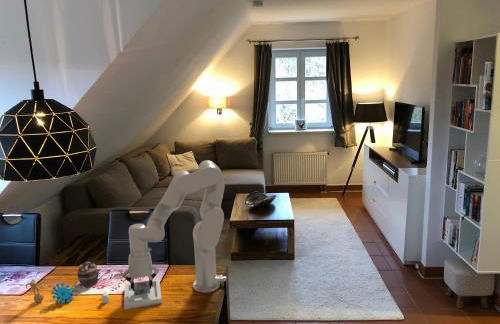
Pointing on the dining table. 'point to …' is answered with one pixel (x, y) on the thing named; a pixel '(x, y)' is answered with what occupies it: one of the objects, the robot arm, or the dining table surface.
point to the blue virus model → (62, 293)
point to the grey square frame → (141, 288)
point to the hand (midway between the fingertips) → (142, 288)
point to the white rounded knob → (105, 298)
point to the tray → (142, 296)
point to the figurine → (38, 296)
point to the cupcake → (88, 274)
